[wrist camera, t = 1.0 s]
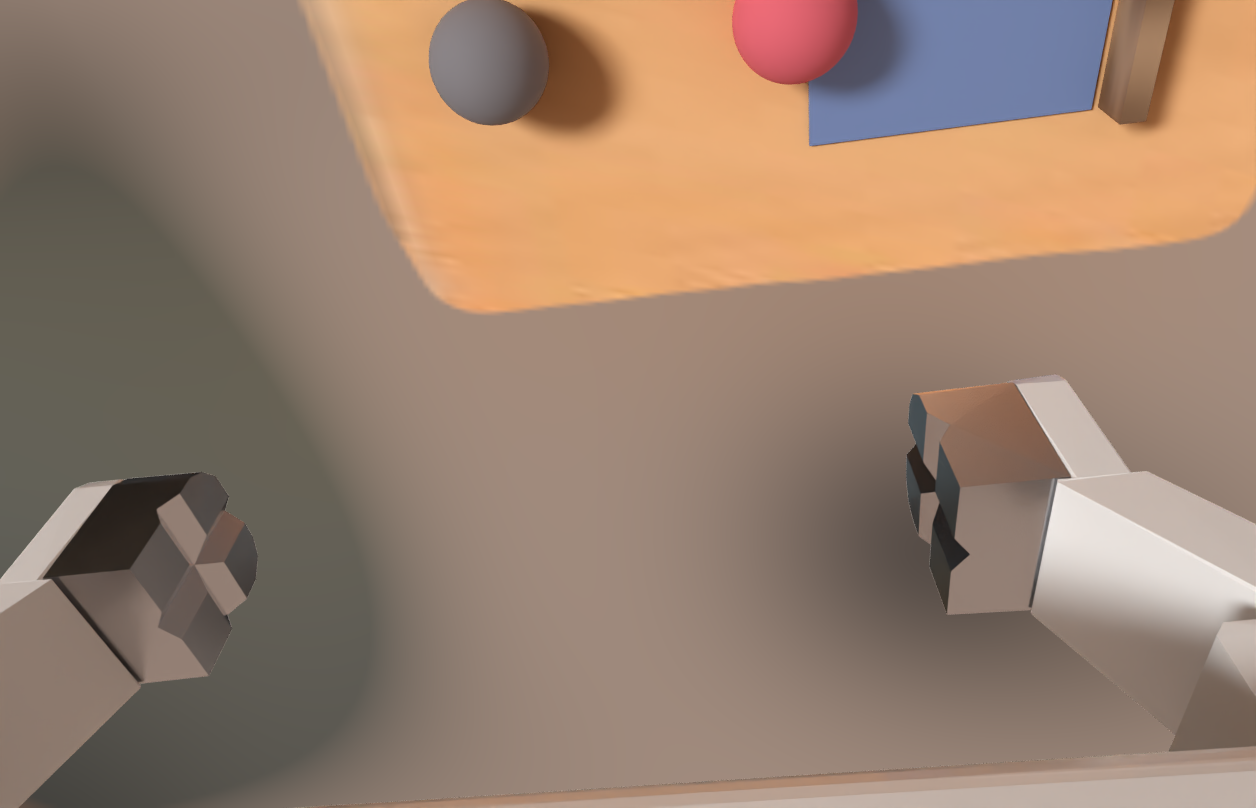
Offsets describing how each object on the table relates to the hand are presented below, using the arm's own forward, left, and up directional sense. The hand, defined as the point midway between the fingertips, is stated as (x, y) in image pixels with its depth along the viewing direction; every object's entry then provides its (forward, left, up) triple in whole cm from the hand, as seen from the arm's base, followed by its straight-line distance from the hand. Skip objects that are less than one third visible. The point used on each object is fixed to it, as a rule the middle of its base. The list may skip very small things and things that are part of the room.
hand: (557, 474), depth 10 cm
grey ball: (+4, -7, -33) cm, 34 cm away
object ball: (+4, +7, -33) cm, 34 cm away
